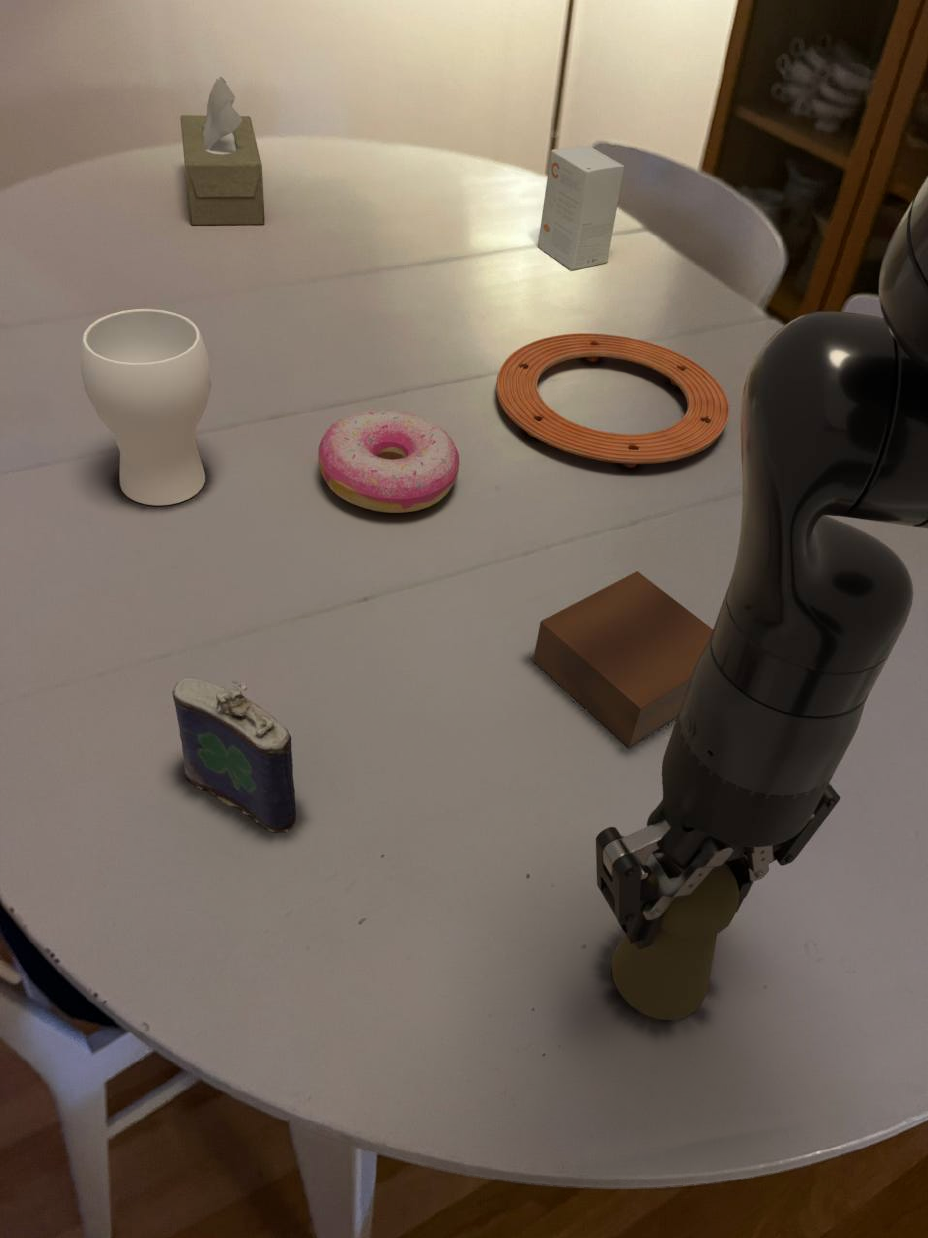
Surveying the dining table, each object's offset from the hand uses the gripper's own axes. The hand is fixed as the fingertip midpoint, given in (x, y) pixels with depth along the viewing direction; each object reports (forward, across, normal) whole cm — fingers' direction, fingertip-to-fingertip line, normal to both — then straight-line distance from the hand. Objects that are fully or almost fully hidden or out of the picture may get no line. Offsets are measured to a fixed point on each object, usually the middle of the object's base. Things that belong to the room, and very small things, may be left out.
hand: (679, 917), depth 59 cm
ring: (+7, +30, +59) cm, 67 cm away
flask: (+7, -20, +22) cm, 31 cm away
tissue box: (+6, +3, +123) cm, 123 cm away
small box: (+6, +44, +95) cm, 105 cm away
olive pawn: (+7, 0, 0) cm, 7 cm away
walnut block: (+7, +12, +23) cm, 27 cm away
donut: (+7, +2, +53) cm, 54 cm away
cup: (+7, -18, +60) cm, 63 cm away
